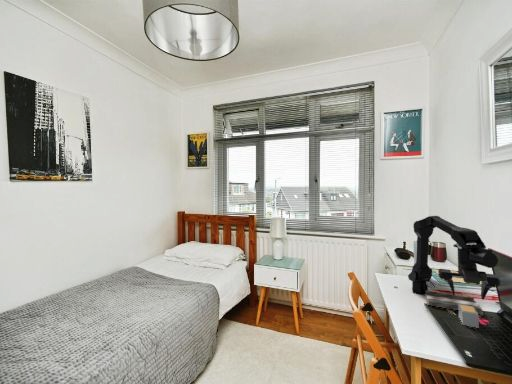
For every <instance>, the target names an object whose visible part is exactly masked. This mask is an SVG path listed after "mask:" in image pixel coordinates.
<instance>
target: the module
mask: <svg viewBox="0 0 512 384" xmlns="http://www.w3.org/2000/svg"><path fill="white" fill-rule="evenodd" d="M458 310H459V311H458V319H459V318H460V319H459V321H460V320H461V321H460V323H461V322H462V323H461V325H462V324H463V325H467V326H470V327H469V328H471V327H476V328H479V329H480V326H479V325H480V323H479V322H480V319H479V316H480V315H478V313H477V311H476V310H475V308H474V307H472V306H466V305H460V304H458ZM476 328H475V329H476Z"/></svg>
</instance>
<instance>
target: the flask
mask: <svg viewBox="0 0 512 384" xmlns="http://www.w3.org/2000/svg"><path fill="white" fill-rule="evenodd" d="M416 258H417V239H416V240H413V262H414V263H413V265H414V264H415V263H416Z"/></svg>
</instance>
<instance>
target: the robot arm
mask: <svg viewBox="0 0 512 384" xmlns="http://www.w3.org/2000/svg"><path fill="white" fill-rule="evenodd" d="M412 227H413V232H414V233H415V235H416V238H417V239H416V240H417V258H416V263H415V264H414V263H413V266H412V268H411V271H410V272H409V274H408V275H407V277H408V280H409V281H411V282H412V283H411V284H412V287H411V289H412V294H418V295H423V296H425V293H426V290H428V291H429V284H428V283H429V282H431V279H432V277H433V269H432V268H430V265H429V263H428V262H429V260H428V259H429V241H430V240H429V239H430V238H431V236H432V234H433V233H434V229H436V228H437V229H439V230H441V231H443V232H444V233H446V234H448V235H450V238H451V239H452V240H453V241H454V242H455V244H453V247H454V248H456V249H457V269H458V270H457V272H452V271H451V270H450V269H445V268H444V269H443V268H438V272H437V273H438V277H439V278H440V279H441V280H443V281H445V282H447V283H448V286H449V287H450V290H451V294H453V295H456V293H455V292H456V291H455V286H454V280H453V278H457V279H462V280H463V282H464V283H466V284H473V285H474V284H475V285H480V286H481V287H480V289H481V290H480V296H481V300H485V298H486V296H487V295H488V292H489V291H490V289H492V288H497V287H500V286H501V280H500V278H499V277H497V275H495V274H494V273H493V274H492V273H487V272H486V271H480V270H478V266H477V265H479V266H482V267H485V268H489V269H492V268H495V267H496V266H497V265H498V263H499V258H498V257H497V255H496V254H495V253H493V250H492V249H490V248H487V246H486V245H485V243H484V242H483V240H482V238H481V237H480V236H479V234H478V233H479V232H477V231H476V230H475V229H471V228H468V227H461V226H458V225H455V224H453V223H452V222H450V221H447V220H445V219H444V218H442V217H440V216H439V215H429V216H426V217H425V218H421V219H419V220H416V221H415V222H413V226H412ZM496 286H497V287H496Z"/></svg>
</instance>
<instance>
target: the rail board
mask: <svg viewBox="0 0 512 384" xmlns="http://www.w3.org/2000/svg"><path fill="white" fill-rule="evenodd" d="M424 298H425V301H426V306H427V307H429V306H428V305H431V306H430V307H432V306H436V307H435V308H438V307H442V308H441V309H443V308H448V309H447V310H449V309H453V310H452V311H455V310H458V304H460V305H466V306H472V307H474V308H475V310H476V311H477V313H478V314H480V315H479V316H484V312H483V310H482V307H480V306H479V304H478V303H477V302H476V301H475V297H473V296H467V295H463V294H462V295H460V294H455V295H453V293H448V292H440V291H433V290H429V289H428V290H426V293H425V295H424Z"/></svg>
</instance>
